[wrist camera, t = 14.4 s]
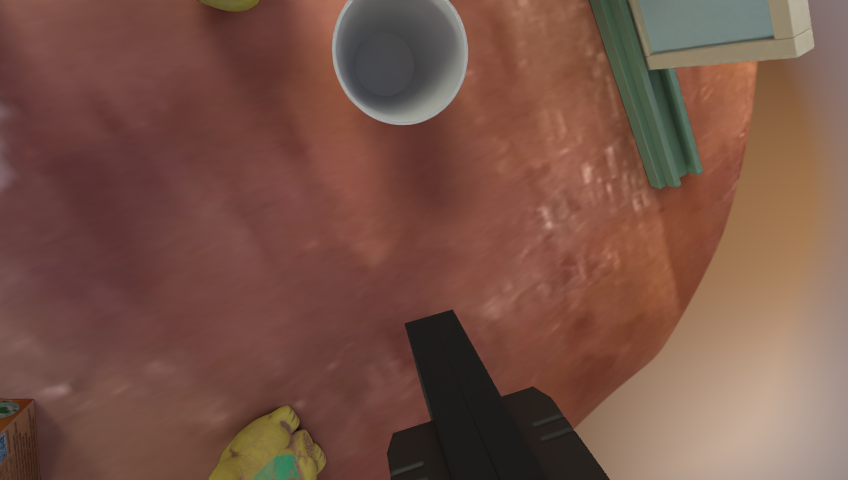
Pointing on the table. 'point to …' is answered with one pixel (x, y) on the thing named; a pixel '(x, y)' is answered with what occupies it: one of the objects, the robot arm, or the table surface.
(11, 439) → the milk carton
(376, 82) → the cup
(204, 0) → the fruit
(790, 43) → the window pane
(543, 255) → the table surface
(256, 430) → the figurine
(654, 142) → the green l-shaped bracket
